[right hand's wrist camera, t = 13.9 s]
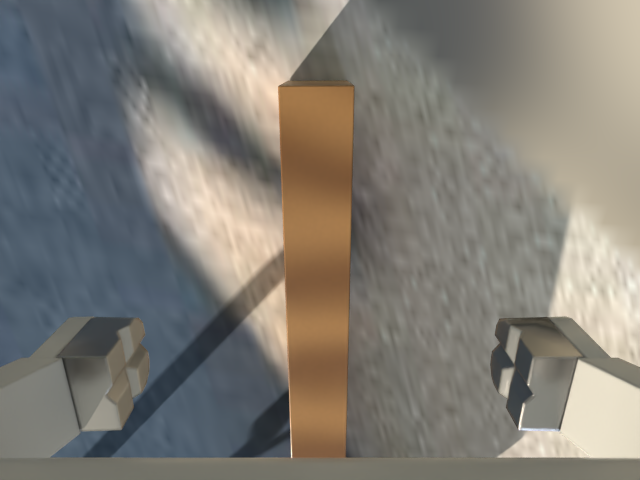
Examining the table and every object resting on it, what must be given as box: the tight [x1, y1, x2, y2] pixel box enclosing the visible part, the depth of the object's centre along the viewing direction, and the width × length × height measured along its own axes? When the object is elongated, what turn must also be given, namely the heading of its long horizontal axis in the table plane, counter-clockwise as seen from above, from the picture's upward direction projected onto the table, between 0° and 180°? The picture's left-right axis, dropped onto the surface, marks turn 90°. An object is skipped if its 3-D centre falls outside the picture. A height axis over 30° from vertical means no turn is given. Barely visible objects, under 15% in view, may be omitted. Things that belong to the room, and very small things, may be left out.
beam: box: [278, 80, 354, 458], centre depth 45 cm, size 63×5×9 cm, turn 0°
